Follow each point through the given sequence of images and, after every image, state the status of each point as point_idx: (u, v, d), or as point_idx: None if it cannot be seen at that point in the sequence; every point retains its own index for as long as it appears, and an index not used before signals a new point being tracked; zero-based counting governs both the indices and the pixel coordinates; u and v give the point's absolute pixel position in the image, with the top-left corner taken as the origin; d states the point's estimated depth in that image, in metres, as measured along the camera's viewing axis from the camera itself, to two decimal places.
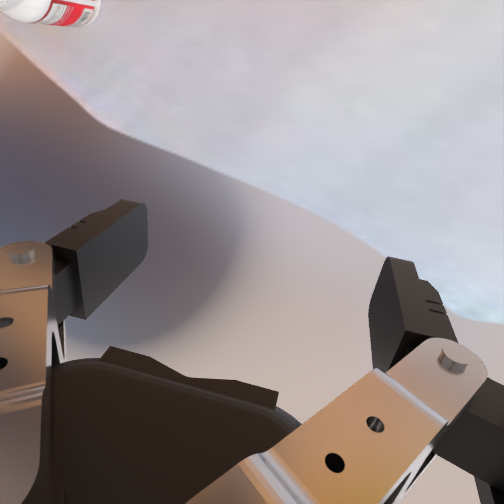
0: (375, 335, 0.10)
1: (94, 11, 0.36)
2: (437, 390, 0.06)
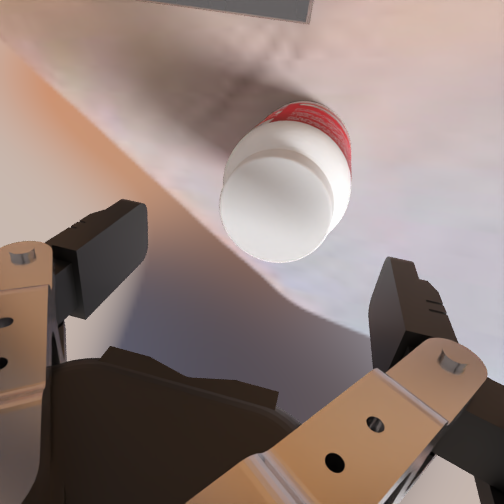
0: (375, 335, 0.10)
1: None
2: (436, 389, 0.06)
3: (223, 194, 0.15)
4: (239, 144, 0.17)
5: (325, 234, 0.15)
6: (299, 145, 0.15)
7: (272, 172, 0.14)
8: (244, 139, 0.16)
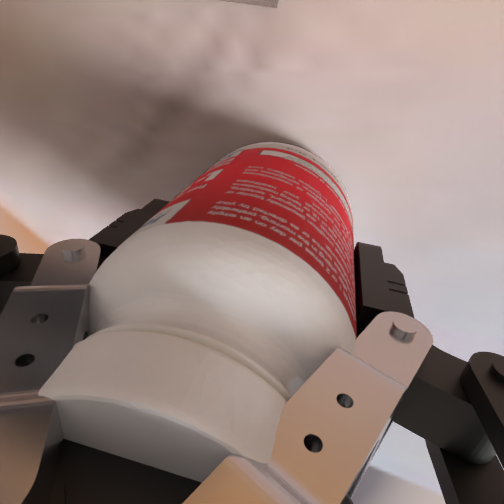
0: None
1: None
2: (392, 359, 0.07)
3: None
4: (98, 272, 0.07)
5: None
6: (224, 299, 0.06)
7: (119, 430, 0.05)
8: (107, 263, 0.07)
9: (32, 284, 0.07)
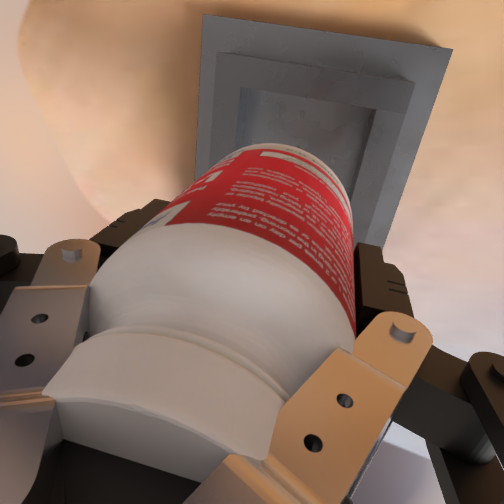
0: None
1: None
2: (392, 359, 0.07)
3: None
4: (98, 274, 0.07)
5: None
6: (224, 301, 0.06)
7: (118, 433, 0.05)
8: (107, 265, 0.07)
9: (33, 284, 0.07)
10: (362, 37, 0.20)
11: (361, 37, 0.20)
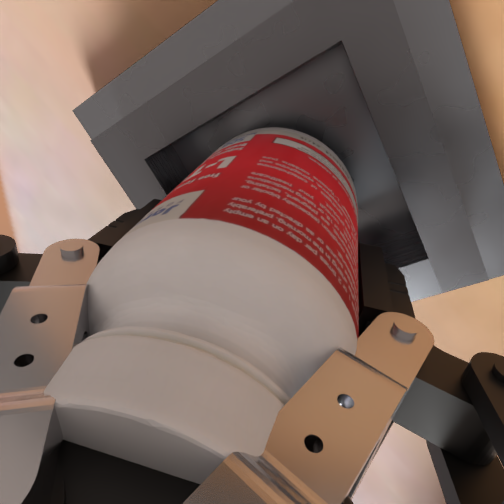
0: None
1: None
2: (393, 360, 0.07)
3: None
4: (105, 262, 0.07)
5: None
6: (238, 307, 0.06)
7: (130, 441, 0.04)
8: (115, 254, 0.07)
9: (31, 284, 0.07)
10: (494, 159, 0.13)
11: (493, 158, 0.13)
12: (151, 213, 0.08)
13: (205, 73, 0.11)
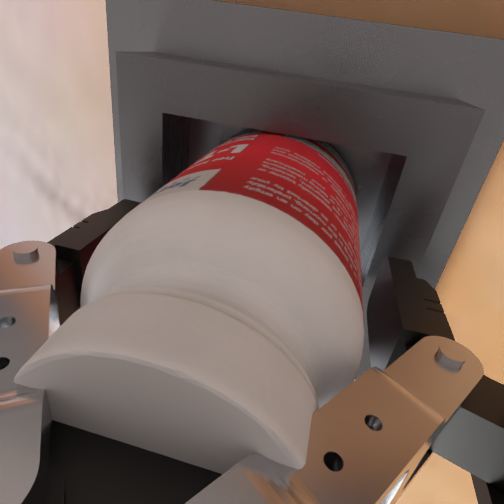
0: (373, 334, 0.10)
1: None
2: (433, 388, 0.06)
3: None
4: (119, 227, 0.07)
5: None
6: (258, 278, 0.06)
7: (150, 396, 0.04)
8: (131, 219, 0.07)
9: None
10: None
11: None
12: (165, 187, 0.08)
13: (279, 88, 0.10)
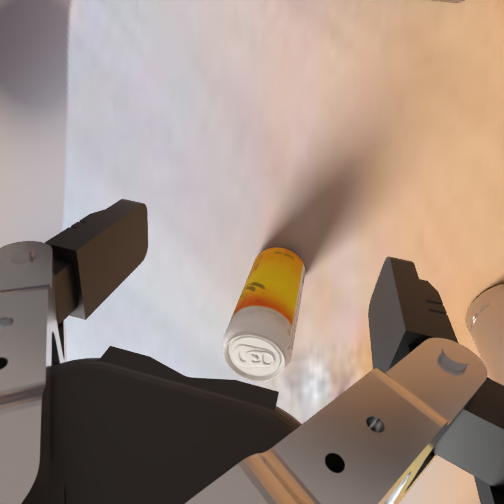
0: (375, 335, 0.10)
1: None
2: (436, 389, 0.06)
3: None
4: None
5: None
6: None
7: None
8: None
9: None
10: None
11: None
12: None
13: None
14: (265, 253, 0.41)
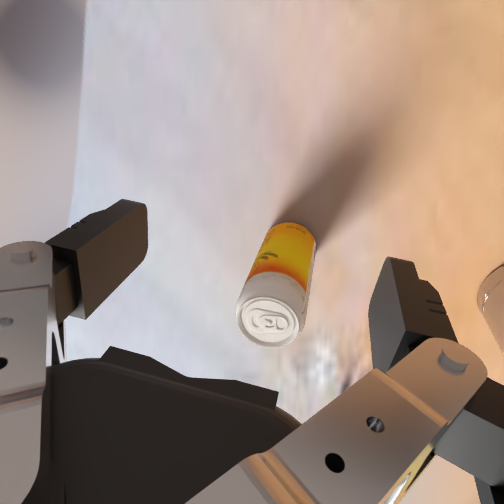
0: (375, 335, 0.10)
1: None
2: (437, 390, 0.06)
3: None
4: None
5: None
6: None
7: None
8: None
9: None
10: None
11: None
12: None
13: None
14: (277, 227, 0.41)
